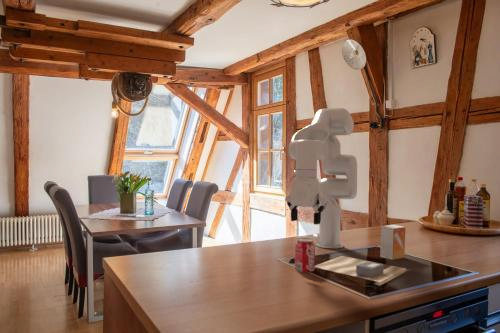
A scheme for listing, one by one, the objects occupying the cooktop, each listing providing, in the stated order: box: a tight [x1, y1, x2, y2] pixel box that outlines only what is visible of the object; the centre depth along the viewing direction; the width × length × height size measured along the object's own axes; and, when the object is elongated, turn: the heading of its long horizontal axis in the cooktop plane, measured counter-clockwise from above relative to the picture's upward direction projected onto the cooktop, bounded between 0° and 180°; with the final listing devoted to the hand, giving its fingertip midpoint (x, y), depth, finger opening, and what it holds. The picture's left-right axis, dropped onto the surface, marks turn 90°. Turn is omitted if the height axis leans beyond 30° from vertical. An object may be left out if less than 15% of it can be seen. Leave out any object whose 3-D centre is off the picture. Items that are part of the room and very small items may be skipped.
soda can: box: [294, 237, 316, 273], centre depth 146 cm, size 7×7×12 cm
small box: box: [379, 224, 406, 261], centre depth 170 cm, size 8×6×13 cm
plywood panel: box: [315, 255, 407, 286], centre depth 150 cm, size 26×22×1 cm
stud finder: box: [356, 260, 384, 278], centre depth 142 cm, size 6×8×3 cm
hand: (305, 222), depth 146 cm, fingers open, 9 cm apart
